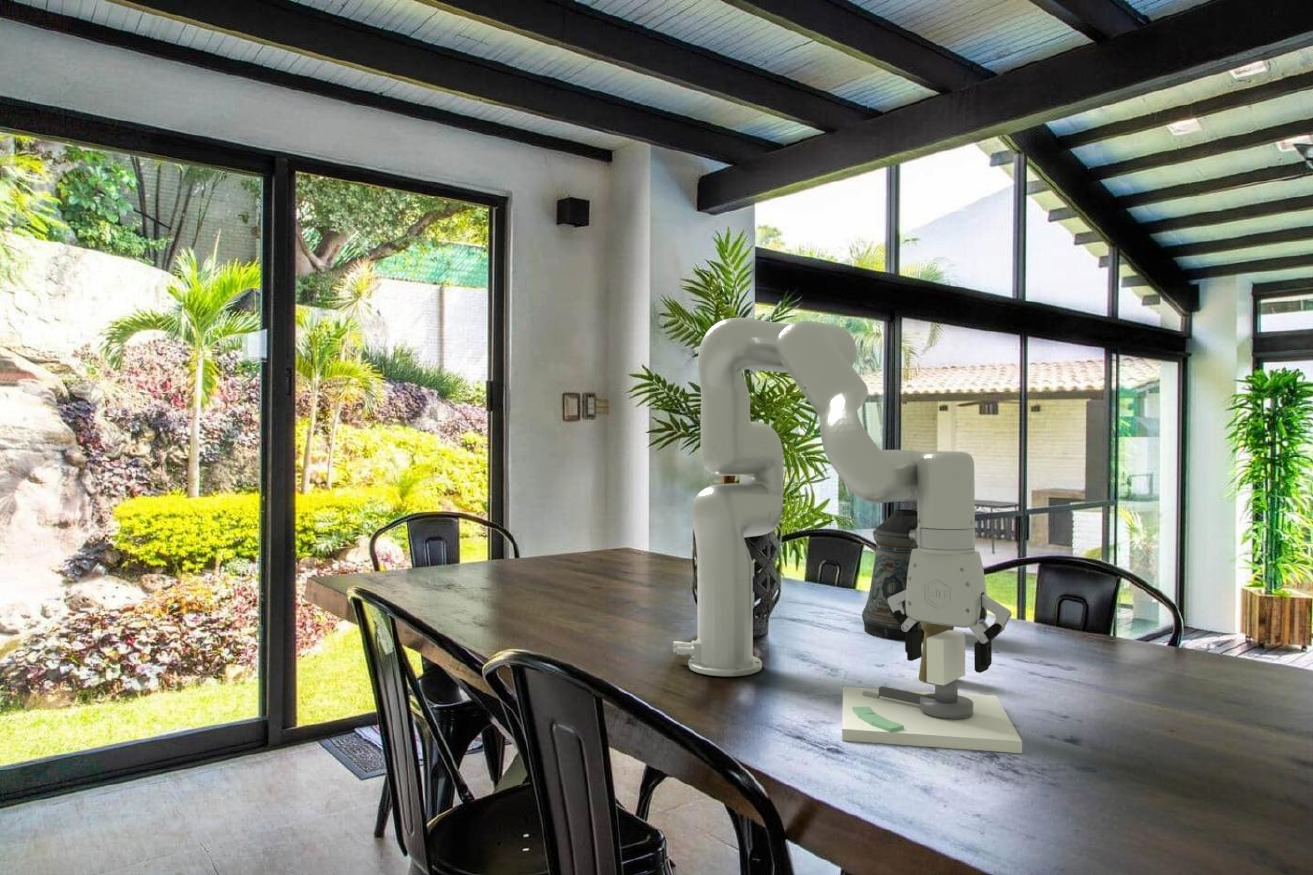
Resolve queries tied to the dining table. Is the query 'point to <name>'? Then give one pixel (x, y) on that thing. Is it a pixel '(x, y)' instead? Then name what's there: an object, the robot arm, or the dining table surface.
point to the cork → (929, 631)
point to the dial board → (926, 723)
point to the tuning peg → (940, 678)
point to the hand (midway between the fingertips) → (947, 664)
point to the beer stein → (890, 574)
